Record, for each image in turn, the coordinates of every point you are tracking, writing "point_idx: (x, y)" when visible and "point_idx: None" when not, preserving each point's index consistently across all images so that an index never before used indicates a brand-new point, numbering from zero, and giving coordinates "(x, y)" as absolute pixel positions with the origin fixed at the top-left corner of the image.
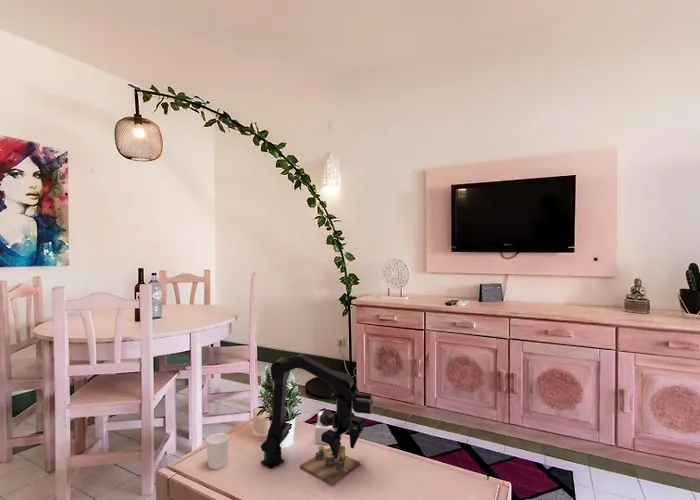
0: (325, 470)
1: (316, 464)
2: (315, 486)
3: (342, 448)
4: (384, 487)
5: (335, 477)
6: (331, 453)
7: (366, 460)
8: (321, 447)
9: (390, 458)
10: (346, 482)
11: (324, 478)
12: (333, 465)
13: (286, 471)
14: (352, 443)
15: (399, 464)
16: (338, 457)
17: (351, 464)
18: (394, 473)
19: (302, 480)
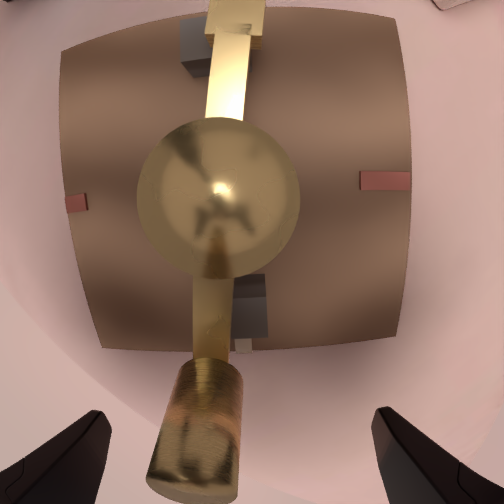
0: (135, 228)
1: (138, 109)
2: (43, 271)
3: (182, 497)
4: (293, 469)
5: (143, 335)
6: (195, 242)
7: (446, 312)
8: (229, 20)
9: (490, 367)
10: None
11: (84, 289)
12: None
13: (22, 46)
14: (389, 465)
15: (461, 412)
16: (217, 336)
17: (339, 317)
18: None
19: (20, 175)
